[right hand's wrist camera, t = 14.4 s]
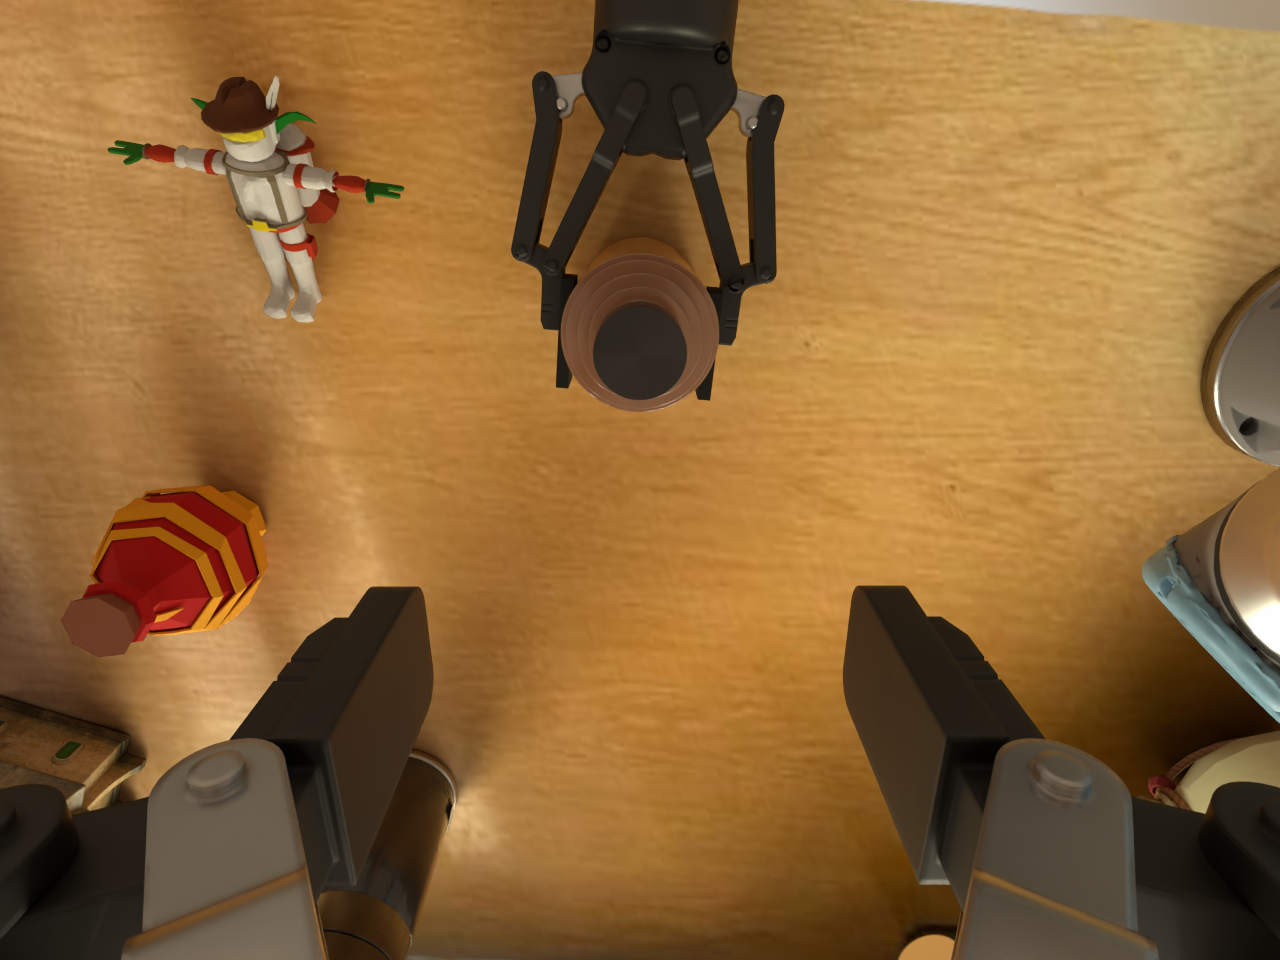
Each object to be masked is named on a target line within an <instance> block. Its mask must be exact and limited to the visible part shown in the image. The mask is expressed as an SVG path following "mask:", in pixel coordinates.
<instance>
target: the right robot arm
mask: <svg viewBox="0 0 1280 960" xmlns="http://www.w3.org/2000/svg"><path fill="white" fill-rule="evenodd" d="M277 677H278V678H277V681H274V682H273V683H272V684H271V685H270V687H269V688H268V689H267V691H266V692H265V693H264V695H263V696H262V697H261V699H260V700H259V701H258V703H257V704H256V705H255V707H254V708H253V709H252V711H251V712H250V713H249V715H248V716H247V717H246V719H245V720H244V721H243V723H242V724H241V725H240V727H239V728H238V729H237V731H236V732H235V733H234V735H233V736H232V737H231V739H230V740H228V741H224V742H221V743H217V744H214V745H211V746H208V747H206V748H203V749H201V750H199V751H197V752H195V753H193V754H191V755H189V756H187V757H186V758H184V759H182V760H181V761H180V762H178V763H177V764H175V765H174V766H173V767H171V768H170V769H169V770H168V771H167V772H166V773H165V774H164V775H163V776H162V777H161V778H160V779H159V780H158V781H157V783H156V784H155V786H154V787H153V789H152V791H151V793H150V796H149V797H146V798H142V799H139V800H135V801H131V802H127V803H122V804H118V805H113V806H109V807H105V808H100V809H96V810H91V811H87V812H83V813H78V814H74V815H71V813H70V810H69V807H68V804H67V802H66V799H65V796H64V795H63V793H62V792H61V791H60V790H58V789H57V788H55V787H52V786H49V785H44V784H25V785H17V786H12V787H8V788H3V789H0V960H407V958H408V954H409V951H410V948H411V944H412V941H413V938H414V934H415V931H416V928H417V925H418V921H419V918H420V915H421V911H422V908H423V905H424V902H425V898H426V895H427V892H428V889H429V885H430V882H431V879H432V875H433V872H434V869H435V866H436V862H437V859H438V856H439V853H440V849H441V846H442V843H443V839H444V836H445V833H446V830H447V826H448V823H449V826H448V831H449V828H450V825H451V821H452V816H453V810H454V808H455V804H456V801H457V785H456V782H455V780H454V778H453V776H452V774H451V773H450V771H449V770H448V769H447V768H446V767H445V766H444V765H443V764H442V763H441V762H440V761H438V760H437V759H436V758H434V757H432V756H430V755H428V754H426V753H423V752H420V751H417V750H413V749H412V748H413V746H414V743H415V741H416V738H417V736H418V734H419V731H420V729H421V726H422V724H423V721H424V719H425V717H426V714H427V712H428V709H429V706H430V702H431V697H432V691H433V664H432V656H431V648H430V640H429V631H428V623H427V615H426V607H425V600H424V595H423V592H422V590H421V588H420V587H370V588H369V589H368V590H367V592H366V593H365V594H364V596H363V597H362V599H361V600H360V602H359V603H358V605H357V606H356V607H355V609H354V610H353V612H352V613H351V615H350V616H349V618H334V619H332V620H331V621H329V622H328V623H326V624H325V625H323V626H322V627H321V628H319V629H318V630H316V631H315V632H313V633H312V634H310V635H309V636H307V638H306V639H305V640H304V642H303V643H302V644H301V646H300V647H299V648H298V650H297V651H296V652H295V654H294V655H293V656H292V658H291V663H287V664H286V666H285V667H284V668H283V670H282V671H281V672H280V674H279V675H278V676H277ZM843 686H844V694H845V699H846V704H847V707H848V710H849V712H850V715H851V717H852V720H853V722H854V725H855V727H856V730H857V732H858V734H859V737H860V739H861V742H862V744H863V747H864V749H865V752H866V754H867V757H868V759H869V762H870V764H871V766H872V769H873V771H874V774H875V776H876V779H877V781H878V784H879V786H880V789H881V791H882V794H883V796H884V799H885V801H886V803H887V806H888V808H889V811H890V813H891V816H892V818H893V821H894V823H895V826H896V828H897V831H898V833H899V836H900V838H901V840H902V843H903V845H904V848H905V850H906V853H907V855H908V858H909V860H910V863H911V865H912V868H913V870H914V873H915V875H916V877H917V880H918V882H919V884H950V885H951V887H952V889H953V891H954V894H955V896H956V898H957V900H958V902H959V905H960V907H961V909H962V910H961V914H960V919H959V923H958V928H957V933H956V938H955V943H954V948H953V953H952V958H951V960H1280V788H1279V787H1276V786H1272V785H1267V784H1263V783H1256V782H1246V781H1238V782H1229V783H1226V784H1223V785H1221V786H1220V787H1218V788H1217V789H1216V790H1215V791H1214V793H1213V794H1212V797H1211V800H1210V803H1209V805H1208V808H1207V811H1206V814H1205V813H1200V812H1196V811H1192V810H1187V809H1183V808H1178V807H1174V806H1170V805H1165V804H1161V803H1156V802H1152V801H1148V800H1143V799H1139V798H1135V797H1132V796H1130V793H1129V791H1128V789H1127V787H1126V786H1125V784H1124V783H1123V781H1122V780H1121V779H1120V778H1119V777H1118V776H1117V775H1116V774H1115V773H1114V772H1113V771H1112V770H1111V769H1110V768H1109V767H1107V766H1106V765H1105V764H1103V763H1102V762H1100V761H1099V760H1098V759H1096V758H1094V757H1093V756H1091V755H1089V754H1087V753H1085V752H1083V751H1081V750H1079V749H1077V748H1074V747H1072V746H1069V745H1066V744H1063V743H1059V742H1056V741H1052V740H1046V739H1045V738H1044V736H1043V735H1042V734H1041V732H1040V731H1039V730H1038V728H1037V727H1036V726H1035V724H1034V723H1033V722H1032V720H1031V719H1030V718H1029V716H1028V715H1027V714H1026V712H1025V711H1024V710H1023V708H1022V707H1021V706H1020V704H1019V703H1018V702H1017V700H1016V699H1015V698H1014V696H1013V695H1012V694H1011V692H1010V691H1009V690H1008V688H1007V687H1006V685H1005V684H1004V683H1003V681H1002V680H998V675H997V673H996V672H995V671H994V669H993V668H992V667H991V665H990V664H989V663H988V661H984V656H983V655H982V653H981V652H980V651H979V649H978V648H977V647H976V645H975V644H974V643H973V641H972V640H971V639H970V637H969V636H968V635H967V634H966V633H964V632H963V631H961V630H960V629H958V628H957V627H955V626H954V625H952V624H951V623H949V622H948V621H947V620H945V619H944V618H942V617H927V616H926V614H925V613H924V611H923V610H922V608H921V607H920V605H919V604H918V602H917V601H916V600H915V598H914V597H913V595H912V594H911V592H910V591H909V589H908V588H907V587H905V586H857V587H856V588H855V589H854V592H853V595H852V600H851V608H850V616H849V624H848V633H847V641H846V649H845V658H844V666H843ZM447 834H448V832H447Z"/></svg>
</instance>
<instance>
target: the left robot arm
mask: <svg viewBox="0 0 1280 960" xmlns="http://www.w3.org/2000/svg"><path fill="white" fill-rule="evenodd" d="M737 9H738V0H596V1H595V18H594V36H593V48H592V53H591V56H590V58H589V60H588V62H587V64H586V66H585V67H584V70H583V72H582V73H577V74H567V75H557V76H551V75H550V74H549V73H547V72H543V71H542V72H539V73H537V74H536V75H535V76H534V78H533V80H532V87H533V95H534V103H535V112H536V125H535V130H534V135H533V140H532V145H531V151H530V156H529V161H528V166H527V171H526V176H525V181H524V186H523V191H522V196H521V201H520V207H519V212H518V217H517V222H516V227H515V232H514V237H513V242H512V247H511V252H512V255H513V257H514V258H515V259H516V260H518V261H523V262H525V263H527V264H529V265H531V266H533V267H535V268H537V269H538V270H539V272H540V273H541V276H542V302H541V303H542V304H541V322H542V325H543V328H544V329H549V330H559V333H558V354H557V375H556V387H557V388H568V387H569V385H570V382H571V379H572V372H571V370H570V369H569V367H568V365H567V362H566V359H565V357H564V353H563V349H562V343H561V322H562V316H563V312H564V309H565V306H566V303H567V301H568V299H569V296H570V294H571V293H572V291H573V290H574V288H575V286H576V285H577V278H578V275H574V274H565V268H566V266H567V263H568V261H569V259H570V257H571V255H572V253H573V251H574V249H575V247H576V245H577V243H578V241H579V239H580V237H581V234H582V232H583V230H584V228H585V226H586V224H587V222H588V220H589V218H590V216H591V214H592V212H593V210H594V208H595V206H596V204H597V202H598V200H599V198H600V196H601V194H602V192H603V190H604V188H605V186H606V184H607V182H608V180H609V178H610V176H611V174H612V172H613V170H614V168H615V166H616V164H617V162H618V160H619V158H620V156H621V154H622V152H623V153H625V154H626V155H630V156H644V155H649V154H655V155H658V156H660V157H663V158H665V159H672V160H681V159H684V161H685V164H686V168H687V171H688V174H689V177H690V179H691V183H692V186H693V190H694V193H695V196H696V200H697V203H698V207H699V210H700V214H701V217H702V220H703V224H704V227H705V231H706V234H707V237H708V241H709V244H710V248H711V251H712V255H713V258H714V261H715V265H716V268H717V272H718V275H719V279H720V286H719V288H718V287H707V289H706V290H707V291H708V293H709V294H710V296H711V299H712V301H713V303H714V305H715V309H716V312H717V316H718V323H719V342H718V344H721V345H732V343H733V341H734V340H735V338H736V331H737V324H738V317H739V309H740V302H741V296H742V294H743V292H744V291H745V290H746V289H747V288H749V287H751V286H755V285H759V284H762V283H766V284H767V283H770V282H771V281H773V280H774V278H775V277H776V222H775V172H774V141H775V138H776V134H777V131H778V128H779V124H780V121H781V118H782V115H783V111H784V101H783V99H782V98H781V97H780V96H778V95H773V94H772V95H770V96H768V97H764V96H760V95H757V94H754V93H751V92H747V91H744V90H741V89H737V83H736V80H735V78H734V75H733V71H732V52H733V43H734V35H735V26H736V17H737ZM584 95H586V97H587V98H588V100H589V102H590V104H591V106H592V107H593V109H594V111H595V113H596V115H597V116H598V118H599V120H600V122H601V124H602V125H603V127H604V129H605V131H604V133H603V135H602V137H601V139H600V141H599V143H598V146H597V148H596V150H595V152H594V154H593V157H592V160H591V162H590V164H589V166H588V168H587V170H586V172H585V174H584V176H583V178H582V180H581V182H580V184H579V187H578V189H577V191H576V193H575V195H574V197H573V199H572V201H571V203H570V205H569V207H568V209H567V211H566V214H565V216H564V218H563V220H562V222H561V224H560V226H559V228H558V230H557V232H556V234H555V236H554V238H553V241H552V243H551V245H550V247H549V248H548V247H546V246H544V245H542V244H540V243H539V240H540V235H541V231H542V226H543V221H544V216H545V211H546V207H547V202H548V197H549V192H550V188H551V183H552V178H553V173H554V168H555V164H556V159H557V154H558V149H559V144H560V140H561V133H562V119H567V118H569V117H571V115H572V114H573V112H574V107H575V103H576V101H577V99H578V98H579V97H581V96H584ZM729 110H732V111H734V112H735V113H736V114H737V116H738V119H739V131H740V132H741V134H742V135H744V136H746V137H748V141H747V150H746V162H747V192H748V223H749V253H750V263H746V264H742V265H740V262H739V258H738V255H737V251H736V248H735V244H734V241H733V237H732V233H731V230H730V226H729V223H728V219H727V216H726V212H725V208H724V205H723V201H722V198H721V194H720V191H719V187H718V183H717V180H716V176H715V173H714V168H713V163H712V159H711V155H710V151H709V148H708V144H707V141H706V138H707V137H708V136H709V135H710V134H711V132H712V131H713V130H714V129H715V127H716V126H717V125H718V124H719V123H720V121H721V120H722V119H723V118H724V116H725V115H726V114H727V113H728V112H729ZM714 365H715V359H714V362H713V364H712V367H711V369H710V370H709V372H708V374H707V376H706V377H705V379H704V380H703V381H702V383H701V384H700V385H699V386H698V387H697V388H696V389H695V391H696V395H697V398H698V400H710V396H711V388H712V381H713V373H714ZM1201 397H1202V403H1203V408H1204V411H1205V414H1206V417H1207V419H1208V421H1209V423H1210V425H1211V427H1212V428H1213V430H1214V431H1215V433H1216V434H1217V435H1218V436H1219V437H1220V438H1221V439H1222V440H1223V441H1224V442H1225V443H1226V444H1228V445H1229V446H1231V447H1232V448H1234V449H1235V450H1237V451H1239V452H1241V453H1243V454H1246V455H1248V456H1250V457H1253V458H1255V459H1257V460H1260V461H1262V462H1265V463H1268V464H1271V465H1275V466H1279V467H1280V268H1278V269H1277V270H1275V271H1273V272H1272V273H1270V274H1269V275H1267V276H1266V277H1265V278H1263V279H1262V280H1261V281H1259V282H1258V283H1257V284H1256V285H1255V286H1253V287H1252V288H1251V289H1250V290H1249V291H1248V292H1247V293H1246V294H1245V295H1244V296H1243V297H1242V298H1241V299H1240V300H1239V301H1238V302H1237V303H1236V304H1235V306H1234V307H1233V308H1232V309H1231V310H1230V312H1229V313H1228V314H1227V316H1226V317H1225V319H1224V320H1223V322H1222V323H1221V325H1220V326H1219V328H1218V330H1217V332H1216V334H1215V335H1214V337H1213V339H1212V342H1211V344H1210V346H1209V349H1208V351H1207V355H1206V358H1205V361H1204V365H1203V370H1202V378H1201ZM1142 575H1143V579H1144V581H1145V583H1146V584H1147V585H1148V587H1149V588H1150V589H1151V590H1152V591H1153V593H1154V594H1155V595H1156V596H1157V597H1158V598H1159V599H1160V601H1161V602H1162V603H1163V604H1164V605H1165V606H1166V607H1167V608H1168V609H1169V611H1170V612H1171V613H1172V614H1173V615H1174V616H1175V617H1176V618H1177V619H1178V620H1179V621H1180V622H1181V624H1182V625H1183V626H1184V627H1185V628H1186V629H1187V630H1188V631H1189V632H1190V633H1191V634H1192V635H1193V636H1194V637H1195V638H1196V640H1197V641H1198V642H1199V643H1200V644H1201V645H1202V646H1203V647H1204V648H1205V649H1206V650H1207V651H1208V652H1209V653H1210V654H1211V655H1212V656H1213V657H1214V658H1215V659H1216V660H1217V661H1218V663H1219V664H1220V665H1221V666H1222V667H1223V668H1224V669H1225V670H1226V671H1227V672H1228V673H1229V674H1230V675H1231V676H1232V677H1233V678H1234V679H1235V680H1236V681H1237V682H1238V683H1239V684H1240V685H1241V686H1242V687H1243V688H1244V689H1245V690H1246V691H1247V692H1248V693H1249V694H1250V695H1251V696H1252V697H1253V698H1254V699H1255V700H1256V701H1257V702H1258V703H1259V704H1260V705H1261V706H1262V707H1263V708H1264V709H1265V710H1266V711H1267V712H1268V713H1269V714H1270V715H1271V716H1272V717H1273V718H1274V719H1275V720H1276V721H1278V722H1279V723H1280V468H1279V469H1277V470H1275V471H1273V472H1272V473H1270V474H1269V475H1267V476H1266V477H1264V478H1263V479H1262V480H1260V481H1259V482H1258V483H1256V484H1255V485H1253V486H1252V487H1251V488H1250V489H1249V490H1247V491H1246V492H1245V493H1243V494H1242V495H1241V496H1240V497H1238V498H1237V499H1236V500H1234V501H1233V502H1231V503H1230V504H1229V505H1227V506H1226V507H1224V508H1223V509H1221V510H1220V511H1218V512H1217V513H1215V514H1214V515H1212V516H1211V517H1209V518H1207V519H1206V520H1204V521H1203V522H1201V523H1200V524H1198V525H1197V526H1195V527H1193V528H1192V529H1190V530H1189V531H1187V532H1186V533H1184V534H1182V535H1176V536H1173V537H1171V538H1169V539H1168V540H1167V541H1166V544H1165V546H1164V547H1163V548H1161V549H1160V550H1159V551H1157V552H1156V553H1154V554H1153V555H1152V556H1150V557H1149V558H1148V559H1147V560H1146V561H1145V563H1144V565H1143V567H1142Z"/></svg>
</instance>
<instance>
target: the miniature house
mask: <svg viewBox="0 0 1280 960" xmlns="http://www.w3.org/2000/svg"><path fill="white" fill-rule="evenodd" d="M129 738H130V736H129V735H128V734H125V733H122V732H119V731H115V730H112V729H108V728H105V727H102V726H98V725H95V724H92V723H88V722H85V721H81V720H78V719H75V718H71V717H68V716H65V715H61V714H58V713H55V712H51V711H48V710H44V709H41V708H38V707H34V706H31V705H28V704H24V703H21V702H17V701H14V700H11V699H7V698H4V697H1V696H0V789H3V788H8V787H12V786H17V785H25V784H44V785H49V786H52V787H55V788H57V789H58V790H60V791H61V792H62V793H63V795H64V796H65V799H66V802H67V804H68V807H69V810H70V813H71V815H74V814H78V813H83V812H87V811H91V810H96V809H100V808H105V807H109V806H113V805H118V804H122V803H126V802H122V801H119V800H118V796H119V791H120V786H121V782H122V781H123V780H125V779H126V778H128V777H129V776H131V775H133V774H135V773H137V772H140V771H141V770H142V768H143V767H144V766H145V762H146V759H144V758H141V757H138V756H135V755H131V754H128V753H127V749H128V744H129Z"/></svg>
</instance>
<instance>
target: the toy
mask: <svg viewBox="0 0 1280 960" xmlns="http://www.w3.org/2000/svg"><path fill="white" fill-rule="evenodd" d="M278 89H279V76H275V78H274V80H273V82H272V85H271V87H270V89H269V92H268V94H267V97H265V96H264V94H263V93H262V91H261V90H260V88H259V87H258V85H257V84H256V83H255V82H253V81H251V80H249V81H246V79H245V78H244V77H233V78H229V79H227V80H225V81H224V82H223V83H222V84H221V85H220V87H219V89H218V91H217V95H216V98H215V100H213V101H211V102H209V103H207V102H204V101H201V100H199V99H195V98H191V99H192V100H193V101H194V102H195V103H196V104H197V105H198V106H199V107H200V108H201V109H202V112H201V117H202V120H203V122H204V123H205V124H206V125H207V126H209V127H210V128H211V129H213V130H214V131H216V132H218V133H219V134H220V135H221V136H222V138H223V141H224V144H225V148H226V149H227V152H226V153H225V152H222V151H220V150H215V149H210V150H206V149H200V148H194V149H189V148H187V147H186V146H184V145H181V146H179V147H178V148H177V149H173V148H171V147H168V146H164V145H160V144H159V145H154V146H152V145H151V144H148V143H146V144H145V145H142V144H136V143H131V142H125V141H118V140H117V141H115V145H116V146H119V147H125V148H114V147H111V148H108V151H109V152H110V153H114V154H121V155H127V156H130V157H128V158H126V159H125V160H124V161H123V162H124V164H126V165H129V164H132V163H135V162H137V161H139V160H140V159H141V158H143V157H144V158H145V159H150V158H151V159H153V160H155V161H159V162H175V164H176V166H177V167H179V168H185V167H187V166H188V167H190V168H191V169H194V170H198V171H204V172H207V173H208V174H214V175H218V174H223V175H226V176H227V179H228V181H229V184H230V187H231V190H232V193H233V196H234V198H235V201H236V204H237V207H236V211H237V213H238V215H239V217H240V218H241V219H242V220H243V221H245V222H246V223H247V224H246V226H247V227H249V229H250V232H251V234H252V237H253V240H254V243H255V246H256V249H257V252H258V254H259V256H260V257H261V259H262V260H263V262H264V265H265V267H266V269H267V272H268V274H269V277H270V280H271V286H272V287H271V293H270V295H269V297H268V299H267V301H266V302H265V305H264V309H263V310H264V312H265V314H267V315H268V316H270V317H273V318H276V319H280V318H285V317H287V312H288V307H289V302H290V300H291V299H293V298H294V296H295V295H296V294H295V289H294V287H293V285H292V282H291V279H290V276H289V273H288V269H287V265H286V261H285V257H284V252H285V255H286V257H287V260H288V261H289V263H290V264H291V267H292V269H293V272H294V275H295V277H296V280H297V283H298V288H299V293H298V299H297V300H296V302H295V304H294V306H293V308H292V310H291V316H292V318H294V319H295V320H297V321H298V322H307V323H308V322H312V321H314V314H315V309H316V304H317V303H318V302H320V301H321V299H322V295H321V293H320V290H319V288H318V285H317V281H316V277H315V273H314V268H313V263H312V259H313V260H314V258H315V257H316V256H317V244H316V240H315V237H314V236H313V235H309V234H307V233H306V231H305V228H304V224H303V222H304V221H305V220H306V218H307V220H308V222H309V223H325V222H327V221H328V220H329V219H330V218H331V217H332V216H333V215H334V214H335V213H336V211H337V207H338V203H339V198H338V196H337V195H336V193H335V191H336V190H337V189H338V188H340V189H342V190H345V191H348V192H351V193H361V192H365V194H366V198H367V201H368V202H369V203H370V204H371V203H374V196H376V195H379V196H384V197H390V198H396V199H398V198H400V194H398V193H394V192H389V191H388V190H393V191H400V192H401V191H403V190H404V187H403V186H399V185H393V184H386V183H377V182H371V181H370V179H367V180H364V179H362V178H360V177H357V176H340V175H339V173H338V171H337V170H333V171H330V172H327V171H326V170H325V169H322V168H317V167H314V166H313V162H312V158H311V154H310V152H311V151H313V149H314V147H315V144H314V143H313V141H312V140H311V139H310V138H309V137H307V136H306V135H305V134H304V132H303V131H302V130H301V129H300V128H299V127H298V126H297V125H294V124H292V122H294V121H297V120H304V121H310V122H313V123H315V122H314V121H313V120H312V119H310V118H309V117H308V116H306V115H304V114H302V113H299V112H287V113H285V114H283V115H281V116H280V117H278V118H277V116H278V112H279V108H278V106H277V104H276V100H277V94H278ZM316 124H317V123H316Z"/></svg>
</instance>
